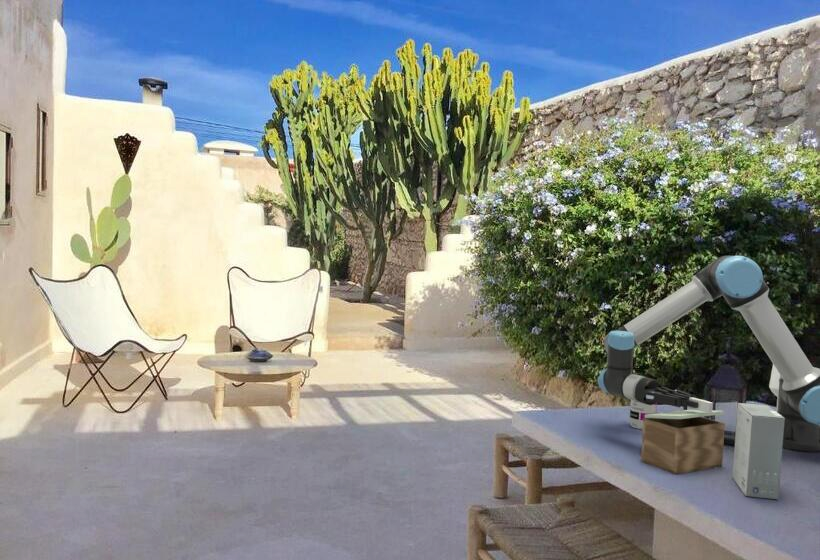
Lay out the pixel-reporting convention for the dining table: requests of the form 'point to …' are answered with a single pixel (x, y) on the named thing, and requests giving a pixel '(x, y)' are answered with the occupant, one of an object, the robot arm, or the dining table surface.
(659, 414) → the lid
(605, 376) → the robot arm
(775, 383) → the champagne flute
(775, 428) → the hard drive box
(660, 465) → the crate
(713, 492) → the dining table surface
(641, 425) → the supplement can
